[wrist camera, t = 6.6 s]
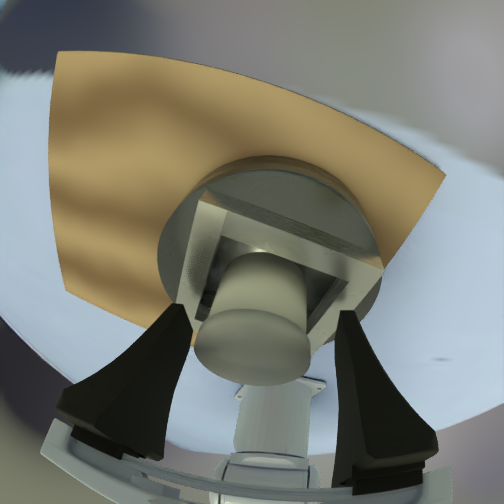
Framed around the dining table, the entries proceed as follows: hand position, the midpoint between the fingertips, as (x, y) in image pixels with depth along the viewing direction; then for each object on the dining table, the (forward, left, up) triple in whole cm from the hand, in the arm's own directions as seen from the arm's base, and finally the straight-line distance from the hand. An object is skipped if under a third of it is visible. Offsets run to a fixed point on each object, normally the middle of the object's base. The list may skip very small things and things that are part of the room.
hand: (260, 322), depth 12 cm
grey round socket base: (0, 0, -5) cm, 5 cm away
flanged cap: (0, 0, -2) cm, 2 cm away
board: (-2, +5, -6) cm, 8 cm away
